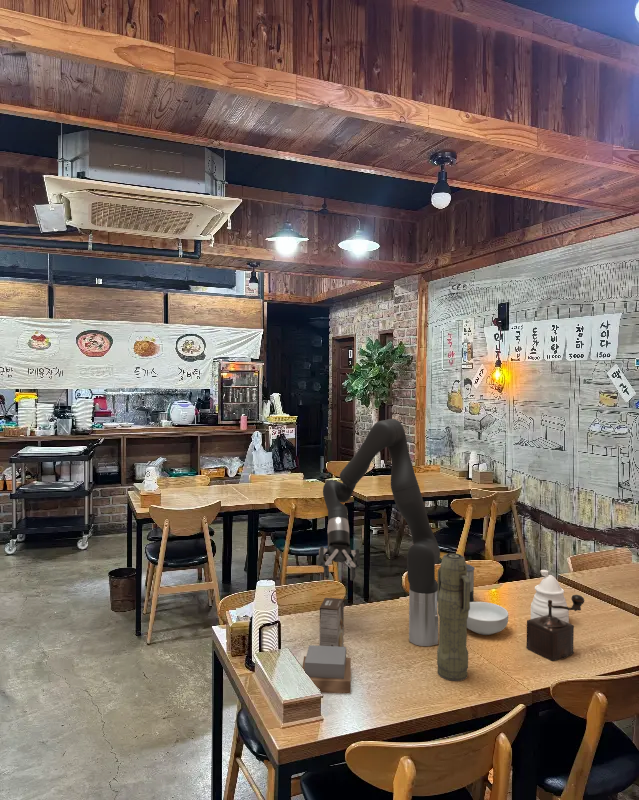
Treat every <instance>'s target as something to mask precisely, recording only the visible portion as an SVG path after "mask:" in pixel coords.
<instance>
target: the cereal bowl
mask: <svg viewBox="0 0 639 800" xmlns="http://www.w3.org/2000/svg"><path fill="white" fill-rule="evenodd" d="M508 622H509V612H508V610H507V609H506V608H504V607H503V606H501V605H498V604H496V603H493V602H492V603H491V602H487V601H474V602H470V610H469V614H468V618H467V629H468V630H469V631H472V632H474V633H475V634H479V635H482V636H483V635H484V636H488V635H489V636H490V635H493V634H496V633H499V632H502V631H503V630H504V629H505V628H506V627H507V626H508Z"/></svg>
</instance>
